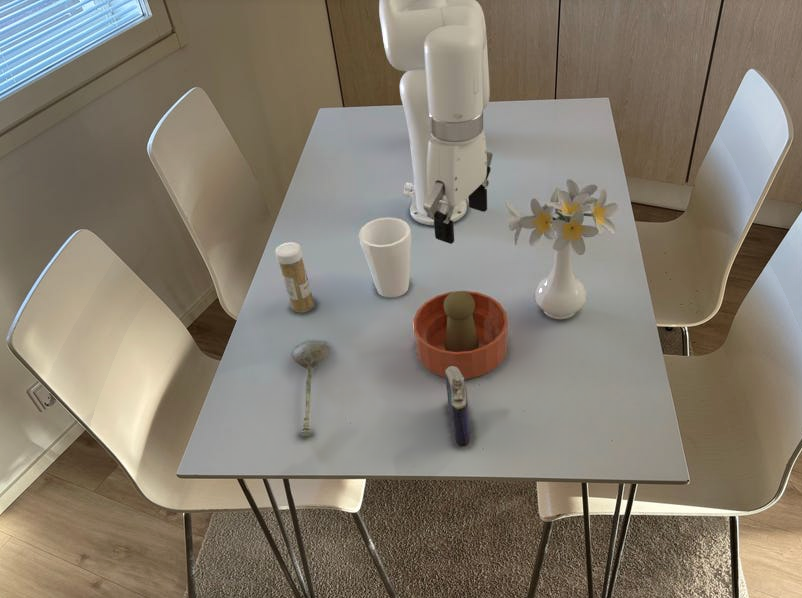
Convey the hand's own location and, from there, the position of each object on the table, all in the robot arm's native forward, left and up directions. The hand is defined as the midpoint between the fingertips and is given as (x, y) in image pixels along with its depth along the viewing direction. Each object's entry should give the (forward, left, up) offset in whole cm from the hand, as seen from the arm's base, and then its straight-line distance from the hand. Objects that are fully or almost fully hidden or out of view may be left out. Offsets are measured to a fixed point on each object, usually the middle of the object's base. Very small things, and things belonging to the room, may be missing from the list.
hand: (461, 224), depth 110 cm
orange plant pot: (+2, -4, -23) cm, 23 cm away
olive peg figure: (+2, -4, -22) cm, 23 cm away
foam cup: (-19, +4, -23) cm, 30 cm away
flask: (+11, -19, -23) cm, 32 cm away
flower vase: (+12, +13, -23) cm, 29 cm away
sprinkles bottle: (-31, -9, -23) cm, 40 cm away
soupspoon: (-16, -25, -23) cm, 38 cm away
